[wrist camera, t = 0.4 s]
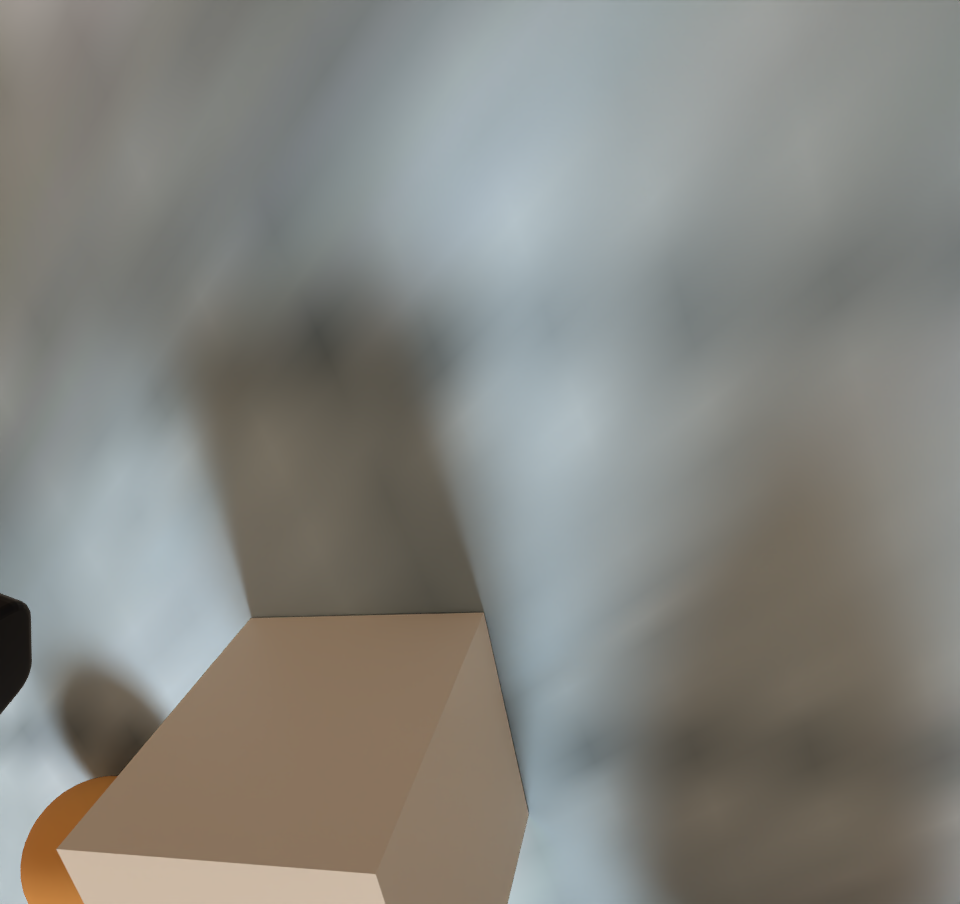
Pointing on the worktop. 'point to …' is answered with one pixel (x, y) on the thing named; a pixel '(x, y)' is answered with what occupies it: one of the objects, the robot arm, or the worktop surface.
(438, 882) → the beige cardboard box
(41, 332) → the worktop surface
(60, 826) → the ball
